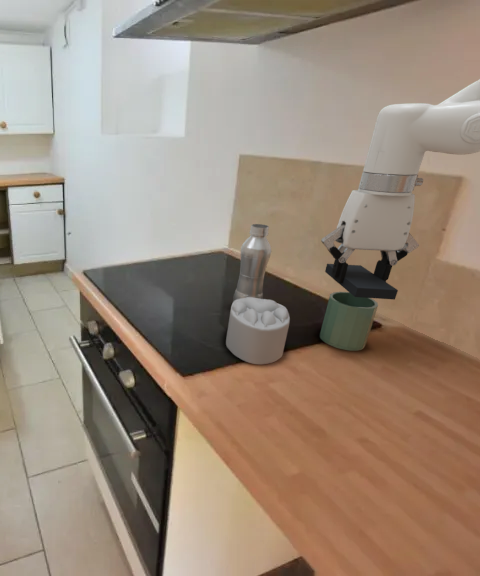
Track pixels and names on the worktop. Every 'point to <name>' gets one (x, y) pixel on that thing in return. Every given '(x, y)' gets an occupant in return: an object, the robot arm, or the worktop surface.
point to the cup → (348, 321)
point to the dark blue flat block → (364, 283)
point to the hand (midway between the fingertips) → (357, 281)
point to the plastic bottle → (253, 263)
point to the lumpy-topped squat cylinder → (257, 330)
